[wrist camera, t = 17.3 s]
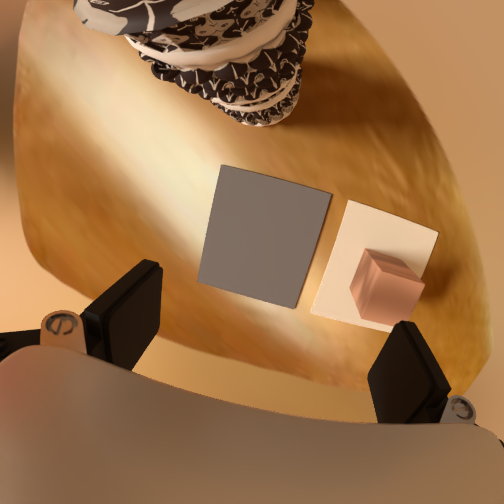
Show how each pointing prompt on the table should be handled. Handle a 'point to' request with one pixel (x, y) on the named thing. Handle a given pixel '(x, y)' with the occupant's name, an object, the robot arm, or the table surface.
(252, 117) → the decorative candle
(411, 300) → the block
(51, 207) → the table surface
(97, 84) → the table surface
